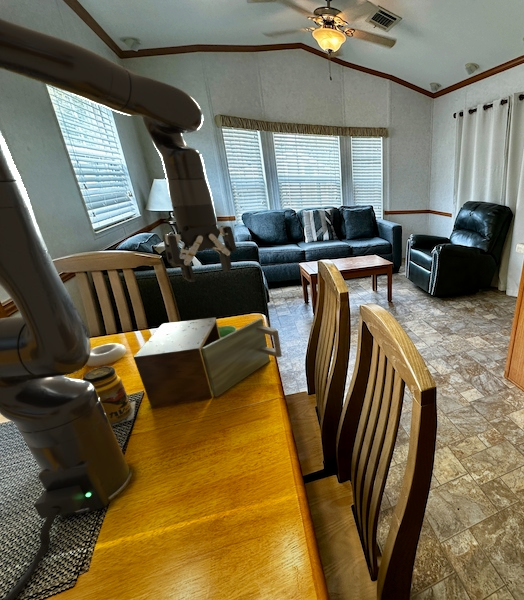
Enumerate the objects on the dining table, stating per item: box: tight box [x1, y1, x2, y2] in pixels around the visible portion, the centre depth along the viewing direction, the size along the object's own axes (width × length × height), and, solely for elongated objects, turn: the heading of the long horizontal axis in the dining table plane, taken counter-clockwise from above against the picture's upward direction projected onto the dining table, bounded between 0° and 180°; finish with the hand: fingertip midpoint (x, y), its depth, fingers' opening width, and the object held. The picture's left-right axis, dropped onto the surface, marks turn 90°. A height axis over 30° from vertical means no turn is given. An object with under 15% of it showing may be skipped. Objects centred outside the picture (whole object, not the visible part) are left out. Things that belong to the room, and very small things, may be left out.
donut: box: [85, 342, 127, 367], centre depth 97 cm, size 10×4×10 cm
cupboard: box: [133, 317, 221, 409], centre depth 85 cm, size 13×18×14 cm
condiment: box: [82, 365, 137, 427], centre depth 72 cm, size 7×8×12 cm
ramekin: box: [218, 325, 238, 338], centre depth 105 cm, size 9×9×4 cm
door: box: [201, 317, 283, 398], centre depth 85 cm, size 8×18×14 cm, turn 157°
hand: (209, 275), depth 74 cm, fingers open, 8 cm apart
